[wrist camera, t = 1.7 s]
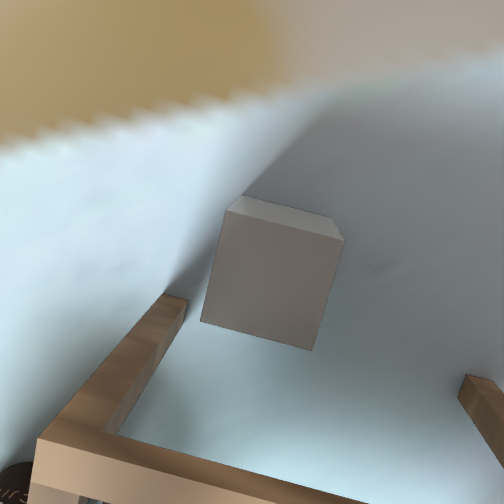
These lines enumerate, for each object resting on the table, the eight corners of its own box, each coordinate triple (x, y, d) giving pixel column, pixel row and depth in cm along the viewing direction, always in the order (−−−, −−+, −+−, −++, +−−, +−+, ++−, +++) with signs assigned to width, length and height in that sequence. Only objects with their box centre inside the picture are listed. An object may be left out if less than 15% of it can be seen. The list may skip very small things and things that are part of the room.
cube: (219, 282, 26) (199, 321, 21) (240, 194, 25) (225, 209, 19) (307, 305, 26) (311, 351, 20) (332, 218, 25) (345, 240, 19)
